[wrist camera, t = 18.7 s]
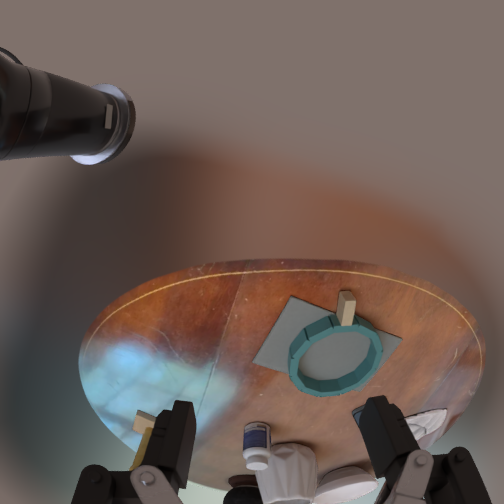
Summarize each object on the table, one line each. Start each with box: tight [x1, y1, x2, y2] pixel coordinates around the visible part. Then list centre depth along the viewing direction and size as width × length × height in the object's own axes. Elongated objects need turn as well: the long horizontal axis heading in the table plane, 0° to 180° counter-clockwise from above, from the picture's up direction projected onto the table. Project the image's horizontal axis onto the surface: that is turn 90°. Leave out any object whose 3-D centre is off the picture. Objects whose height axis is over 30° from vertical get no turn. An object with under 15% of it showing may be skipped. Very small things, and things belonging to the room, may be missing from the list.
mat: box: [252, 296, 403, 392], centre depth 40 cm, size 22×13×1 cm, turn 66°
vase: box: [255, 443, 318, 504], centre depth 43 cm, size 14×14×15 cm
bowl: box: [313, 466, 379, 504], centre depth 52 cm, size 19×19×8 cm
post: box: [129, 410, 156, 471], centre depth 41 cm, size 8×8×15 cm
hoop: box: [288, 291, 383, 397], centre depth 37 cm, size 18×15×3 cm
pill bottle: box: [243, 422, 271, 470], centre depth 42 cm, size 5×5×10 cm
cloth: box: [404, 409, 447, 440], centre depth 48 cm, size 20×22×2 cm
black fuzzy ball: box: [223, 475, 263, 504], centre depth 49 cm, size 13×13×15 cm
